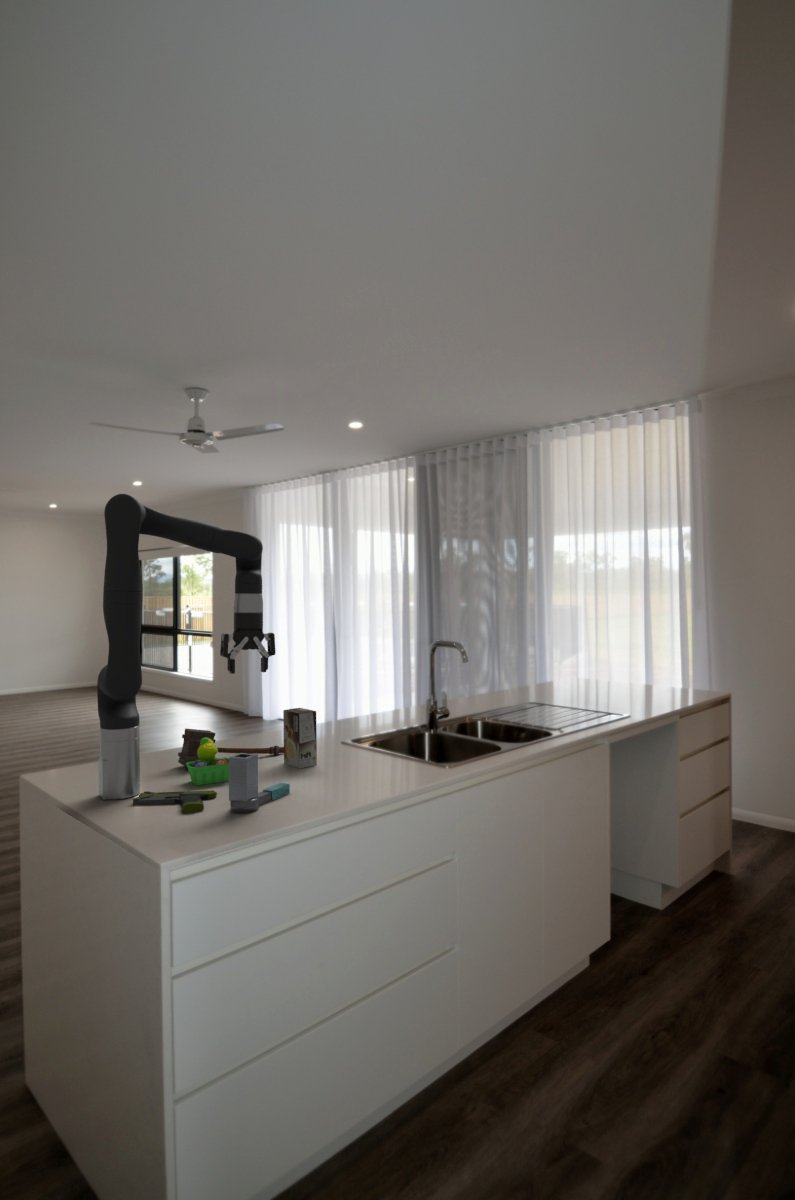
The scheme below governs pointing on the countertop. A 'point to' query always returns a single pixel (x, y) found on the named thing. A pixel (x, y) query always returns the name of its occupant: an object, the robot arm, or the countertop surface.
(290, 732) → the coffee box
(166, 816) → the countertop surface
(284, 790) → the ratchet
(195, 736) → the hammer
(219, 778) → the fruit basket
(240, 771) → the grey hollow square tube
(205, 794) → the gun
